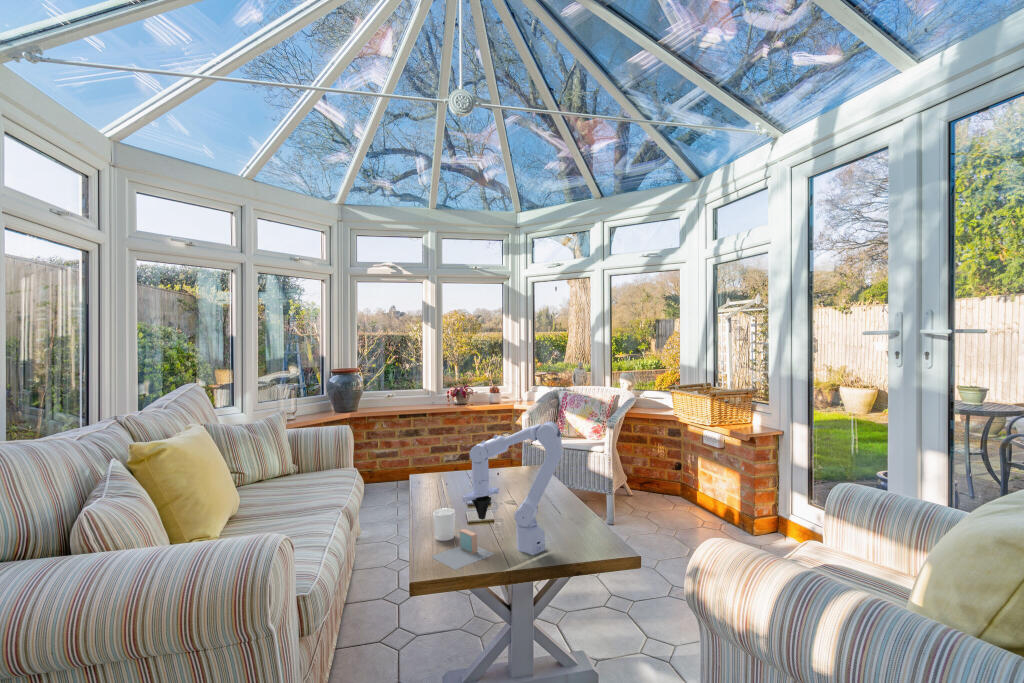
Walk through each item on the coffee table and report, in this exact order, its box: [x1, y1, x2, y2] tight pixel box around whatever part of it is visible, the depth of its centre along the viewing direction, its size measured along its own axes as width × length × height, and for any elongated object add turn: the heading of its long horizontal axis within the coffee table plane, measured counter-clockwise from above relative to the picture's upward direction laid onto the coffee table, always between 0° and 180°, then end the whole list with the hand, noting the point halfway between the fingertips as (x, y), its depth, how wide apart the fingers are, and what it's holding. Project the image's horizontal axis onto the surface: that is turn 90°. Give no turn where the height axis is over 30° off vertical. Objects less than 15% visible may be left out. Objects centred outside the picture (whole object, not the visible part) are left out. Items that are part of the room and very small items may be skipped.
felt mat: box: [430, 545, 495, 571], centre depth 161 cm, size 14×16×1 cm
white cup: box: [432, 507, 456, 542], centre depth 178 cm, size 8×8×10 cm
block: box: [459, 528, 478, 554], centre depth 166 cm, size 7×2×6 cm, turn 42°
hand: (481, 518), depth 170 cm, fingers closed
